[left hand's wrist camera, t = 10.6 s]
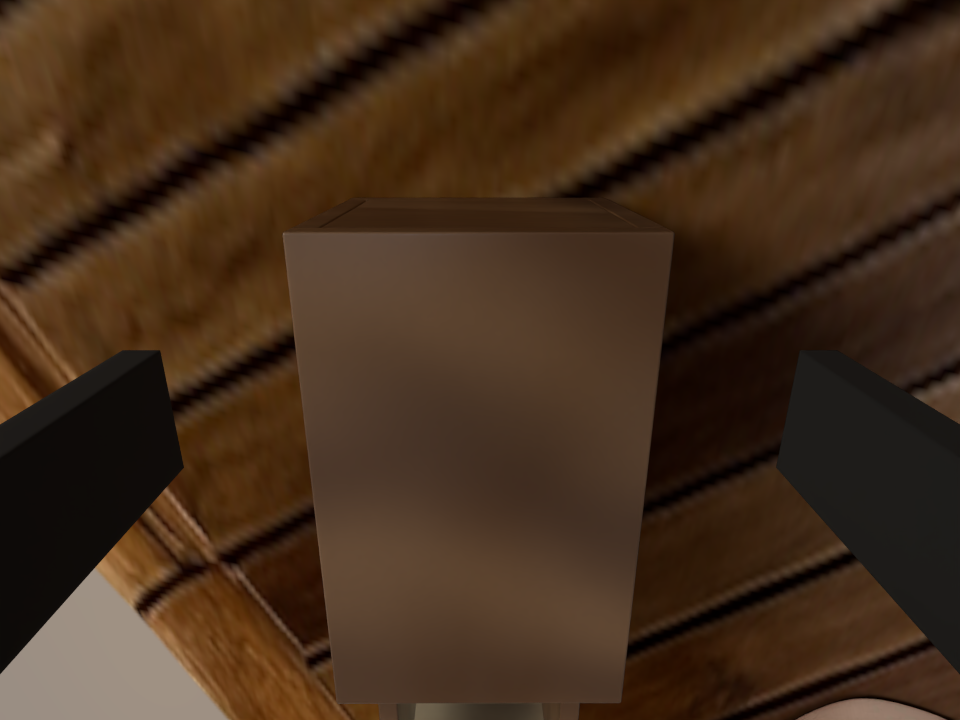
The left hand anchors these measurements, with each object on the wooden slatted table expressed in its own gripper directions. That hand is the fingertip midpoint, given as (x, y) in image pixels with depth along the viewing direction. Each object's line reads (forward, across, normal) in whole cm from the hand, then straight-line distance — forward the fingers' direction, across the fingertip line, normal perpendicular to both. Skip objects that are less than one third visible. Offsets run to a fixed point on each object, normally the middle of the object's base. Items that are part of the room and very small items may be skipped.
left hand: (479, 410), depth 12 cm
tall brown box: (+15, 0, -6) cm, 16 cm away
